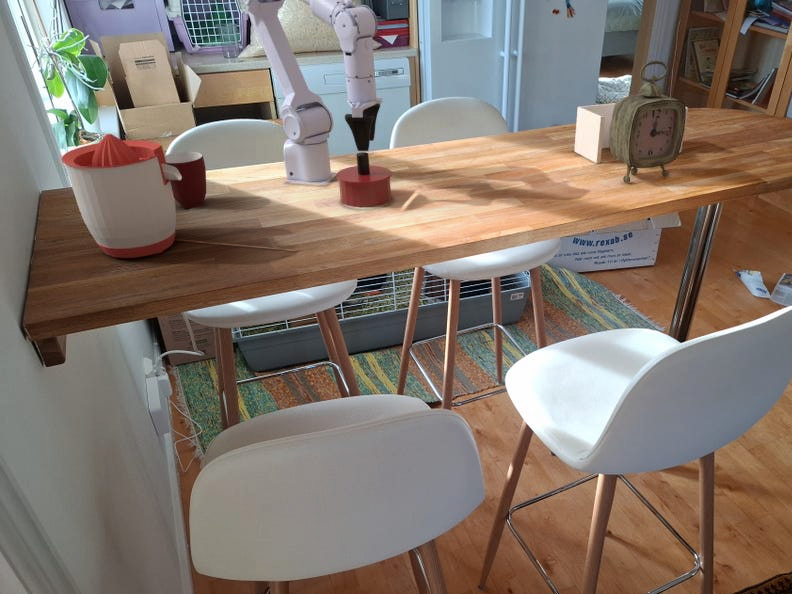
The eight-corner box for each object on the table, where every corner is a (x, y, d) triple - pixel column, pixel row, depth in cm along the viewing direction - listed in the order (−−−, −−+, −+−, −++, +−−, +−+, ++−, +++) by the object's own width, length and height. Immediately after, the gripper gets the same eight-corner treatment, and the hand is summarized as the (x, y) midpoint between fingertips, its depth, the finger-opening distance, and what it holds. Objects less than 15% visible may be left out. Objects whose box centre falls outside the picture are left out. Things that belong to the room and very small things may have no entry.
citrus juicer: (194, 258, 120) (166, 141, 109) (84, 269, 116) (44, 150, 105) (198, 225, 133) (173, 118, 122) (99, 235, 129) (65, 125, 118)
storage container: (656, 141, 185) (662, 98, 179) (681, 152, 176) (688, 107, 170) (574, 151, 177) (577, 106, 171) (596, 163, 168) (600, 116, 162)
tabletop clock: (623, 186, 154) (638, 66, 140) (601, 174, 160) (613, 59, 147) (676, 178, 159) (695, 61, 145) (652, 167, 166) (668, 55, 152)
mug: (159, 216, 137) (146, 166, 131) (157, 203, 143) (145, 155, 137) (215, 209, 140) (204, 160, 135) (211, 197, 146) (200, 149, 141)
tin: (333, 207, 141) (330, 182, 138) (351, 191, 150) (349, 166, 147) (382, 211, 140) (380, 185, 137) (397, 194, 148) (396, 169, 145)
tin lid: (328, 185, 139) (325, 160, 136) (348, 168, 148) (346, 144, 145) (381, 189, 137) (379, 163, 134) (398, 172, 146) (397, 148, 143)
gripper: (375, 83, 130) (380, 155, 137) (385, 68, 142) (389, 136, 149) (337, 82, 130) (345, 155, 137) (350, 68, 142) (356, 135, 149)
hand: (366, 145), depth 143 cm, fingers open, 7 cm apart
